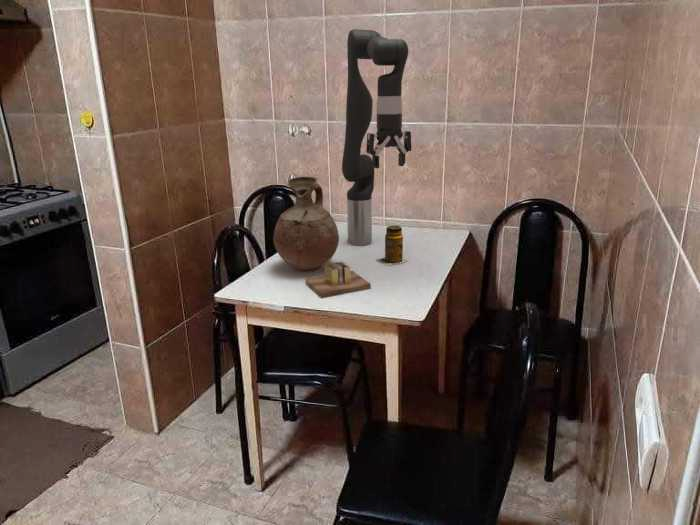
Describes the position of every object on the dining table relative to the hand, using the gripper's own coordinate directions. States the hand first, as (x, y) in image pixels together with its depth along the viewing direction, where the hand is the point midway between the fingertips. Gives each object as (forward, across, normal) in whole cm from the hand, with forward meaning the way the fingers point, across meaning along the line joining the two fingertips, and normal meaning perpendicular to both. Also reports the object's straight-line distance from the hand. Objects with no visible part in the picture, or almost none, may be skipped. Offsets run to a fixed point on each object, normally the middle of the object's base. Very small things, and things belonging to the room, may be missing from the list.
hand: (389, 167), depth 163 cm
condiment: (+34, +6, +9) cm, 36 cm away
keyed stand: (+34, -20, -4) cm, 40 cm away
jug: (+34, -22, +17) cm, 44 cm away
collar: (+32, -20, -4) cm, 38 cm away
